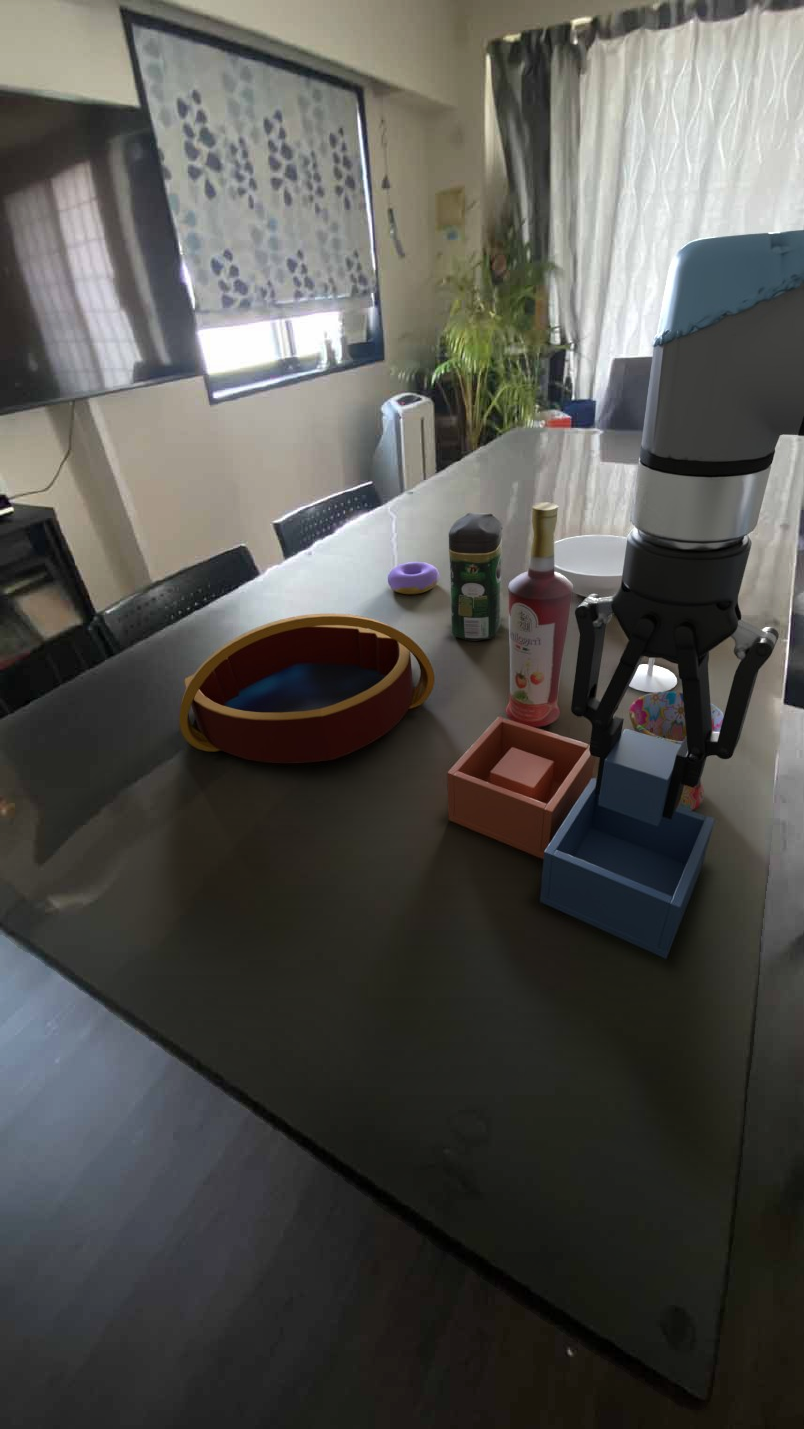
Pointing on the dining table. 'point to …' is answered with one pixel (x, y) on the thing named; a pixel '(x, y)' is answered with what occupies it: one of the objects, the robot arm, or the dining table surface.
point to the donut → (413, 578)
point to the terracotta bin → (507, 810)
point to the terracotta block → (524, 774)
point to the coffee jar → (475, 576)
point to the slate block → (638, 776)
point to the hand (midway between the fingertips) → (637, 796)
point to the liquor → (538, 627)
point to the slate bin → (625, 870)
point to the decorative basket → (304, 689)
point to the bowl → (591, 563)
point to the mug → (670, 729)
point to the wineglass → (653, 678)
